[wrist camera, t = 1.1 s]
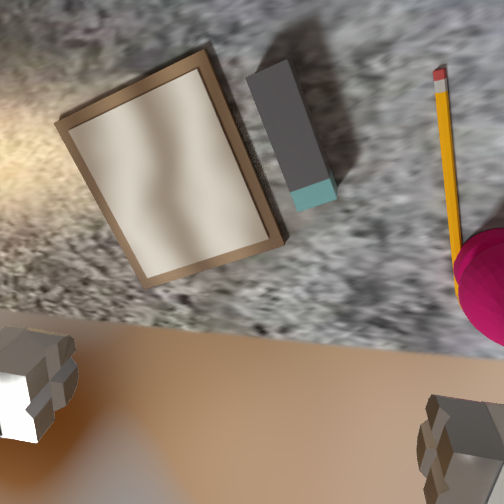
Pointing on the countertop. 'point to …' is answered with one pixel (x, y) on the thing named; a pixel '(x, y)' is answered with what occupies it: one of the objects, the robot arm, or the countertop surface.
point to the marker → (293, 134)
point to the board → (173, 173)
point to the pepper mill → (483, 282)
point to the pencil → (448, 163)
